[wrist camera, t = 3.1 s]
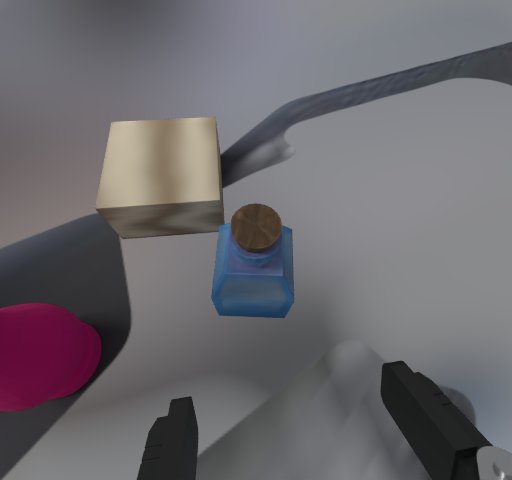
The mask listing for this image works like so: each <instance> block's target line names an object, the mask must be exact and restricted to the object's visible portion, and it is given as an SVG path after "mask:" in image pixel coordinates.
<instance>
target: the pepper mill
mask: <svg viewBox="0 0 512 480" xmlns="http://www.w3.org/2000/svg"><path fill="white" fill-rule="evenodd" d="M101 349H102V348H101V340H100V337H99V335H98V333H97V331H96V330H95V329H94V328H93V327H92V326H91V325H89V324H87V323H85V322H82V321H79V319H78V318H77V317H76V316H75V315H74V314H73V313H71V312H70V311H68V310H67V309H65V308H62V307H60V306H56V305H51V304H45V303H26V304H19V305H13V306H9V307H4V308H0V411H20V410H24V409H28V408H32V407H34V406H37V405H39V404H42V403H43V402H45V401H47V400H49V399H57V398H62V397H65V396H68V395H70V394H72V393H74V392H76V391H77V390H78V389H80V388H81V387H82V386H83V385H85V384H86V383H87V381H88V380H89V379H90V378H91V376H92V375H93V373H94V372H95V370H96V368H97V366H98V364H99V361H100V357H101Z"/></svg>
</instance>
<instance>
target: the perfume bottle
mask: <svg viewBox="0 0 512 480" xmlns="http://www.w3.org/2000/svg"><path fill="white" fill-rule="evenodd" d="M292 246H293V245H292V229H290V228H288V227H285V226H282V223H281V219H280V217H279V216H278V214H277V213H276V212H275V211H274V210H273V209H272V208H270V207H268V206H266V205H262V204H249V205H246V206H243V207H242V208H240V209H239V210H238V211H236V213H235V214H234V215H233V217H232V220H231V223H228V224H225V225H222V226H219V234H218V243H217V252H216V261H215V270H214V280H213V288H212V301H213V303H214V305H215V307H216V309H217V312H218V314H219V315H223V316H225V315H226V316H248V317H272V318H285V316H286V314H287V312H288V311H289V309H290V308H291V306H292V304H293V303H294V281H293V248H292Z"/></svg>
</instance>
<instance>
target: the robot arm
mask: <svg viewBox="0 0 512 480" xmlns="http://www.w3.org/2000/svg"><path fill="white" fill-rule="evenodd" d="M381 397H382V400H383V403H384V405H385V407H386V409H387V410H388V412H389V413H390V415H391V416H392V418H393V420H394V421H395V423H396V424H397V426H398V427H399V429H400V430H401V432H402V433H403V435H404V437H405V438H406V440H407V441H408V443H409V444H410V446H411V447H412V449H413V450H414V452H415V454H416V455H417V457H418V458H419V460H420V461H421V463H422V464H423V466H424V467H425V469H426V471H427V472H428V474H429V475H430V477H431V478H432V480H512V454H511V453H510V452H508V451H506V450H503V449H500V448H497V447H494V446H493V445H492V444H490V442H489V441H487V439H486V438H485V437H484V436H483V435H482V434H481V433H480V432H479V431H478V430H477V428H476V427H475V426H474V425H473V424H472V423H471V422H470V421H469V420H468V419H467V418H466V417H465V415H464V414H463V413H462V412H461V411H460V410H459V409H458V408H457V407H456V406H455V405H453V404H452V401H451V400H450V399H449V398H448V397H447V396H446V395H444V394H443V392H442V391H441V390H440V388H439V387H438V386H437V385H436V384H435V383H434V382H433V381H432V380H430V379H429V378H427V377H425V376H424V375H423V374H421V373H420V372H416V373H414V372H413V371H412V370H411V369H410V368H409V367H408V366H407V364H405V363H404V362H403V361H396V362H391V363H384V364H383V366H382V378H381ZM197 452H198V425H197V420H196V415H195V410H194V406H193V401H192V397H191V396H190V397H184V398H179V399H173V400H171V403H170V408H169V413H168V416H165V417H160V418H157V420H156V421H155V423H154V425H153V426H152V428H151V429H150V431H149V433H148V438H147V442H146V445H145V451H144V454H143V457H142V464H141V465H140V469H139V473H138V477H137V480H195V479H196V465H197Z"/></svg>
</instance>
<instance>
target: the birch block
mask: <svg viewBox="0 0 512 480" xmlns="http://www.w3.org/2000/svg"><path fill="white" fill-rule="evenodd" d="M222 191H223V190H222V175H221V157H220V148H219V141H218V133H217V125H216V117H205V118H185V119H164V120H146V121H145V120H144V121H126V122H125V121H124V122H112V124H111V129H110V134H109V139H108V144H107V150H106V155H105V160H104V165H103V170H102V176H101V181H100V186H99V192H98V197H97V202H96V207H95V209H96V210H97V211H98V212H99V213H100V215H101V216H102V217H103V218H104V219H105V220H106V221H107V222H108V223H109V225H110V226H111V227H112V228H113V229H114V230H115V231H116V232H117V233H118V235H119V236H120V237H121V238H122V239H133V238H147V237H159V236H173V235H186V234H197V233H211V232H219V226H222V225H224V208H223V192H222Z"/></svg>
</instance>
